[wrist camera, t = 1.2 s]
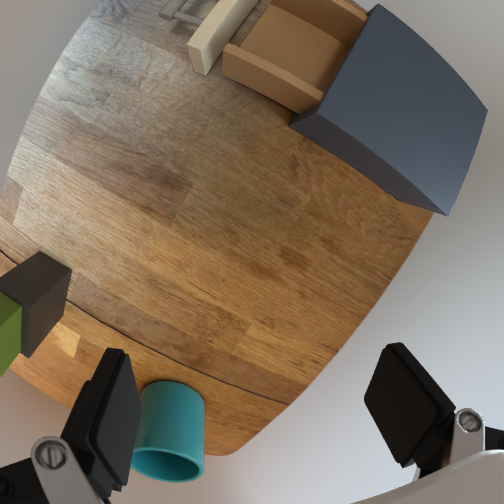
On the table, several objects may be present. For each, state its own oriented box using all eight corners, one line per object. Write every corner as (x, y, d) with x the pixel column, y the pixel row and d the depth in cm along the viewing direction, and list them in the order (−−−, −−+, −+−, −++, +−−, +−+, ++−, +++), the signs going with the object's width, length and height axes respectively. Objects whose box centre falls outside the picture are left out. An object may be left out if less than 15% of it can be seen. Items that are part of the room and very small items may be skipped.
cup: (135, 420, 35) (122, 478, 25) (145, 370, 32) (126, 438, 21) (191, 435, 37) (189, 494, 26) (213, 389, 34) (213, 459, 23)
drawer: (151, 55, 21) (132, 27, 14) (212, -23, 18) (212, -61, 12) (322, 138, 25) (353, 132, 18) (367, 54, 22) (402, 34, 16)
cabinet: (287, 126, 25) (316, 112, 17) (340, 35, 22) (378, 3, 14) (397, 200, 28) (448, 216, 20) (437, 114, 26) (487, 110, 17)
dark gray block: (39, 250, 26) (-7, 281, 17) (72, 269, 27) (30, 307, 19) (32, 298, 28) (-6, 334, 19) (62, 316, 29) (28, 359, 20)
